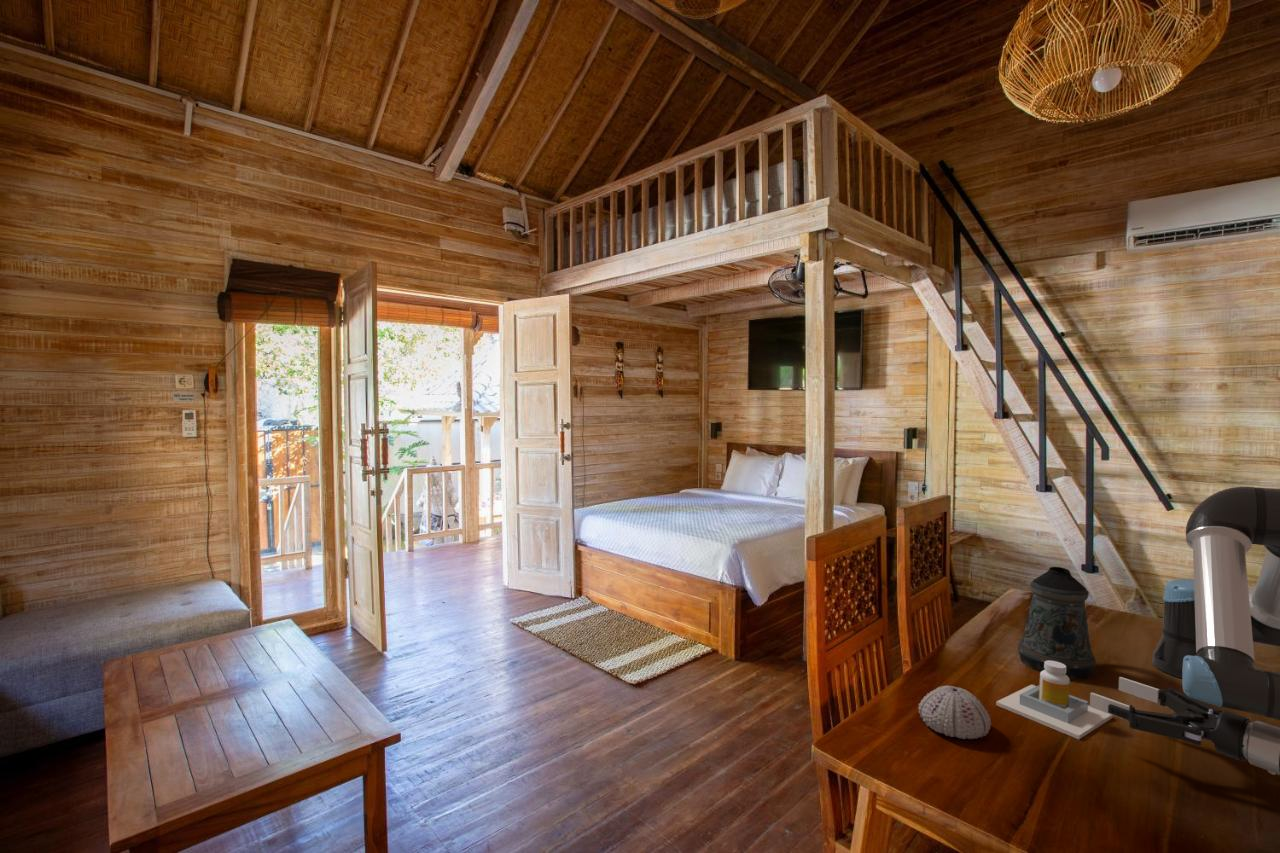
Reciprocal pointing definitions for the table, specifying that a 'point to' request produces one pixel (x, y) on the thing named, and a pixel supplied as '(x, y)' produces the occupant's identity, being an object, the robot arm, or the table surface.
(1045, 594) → the beer stein
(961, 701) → the sea urchin shell
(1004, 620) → the table surface
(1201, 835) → the table surface
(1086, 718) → the socket
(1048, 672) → the supplement bottle
